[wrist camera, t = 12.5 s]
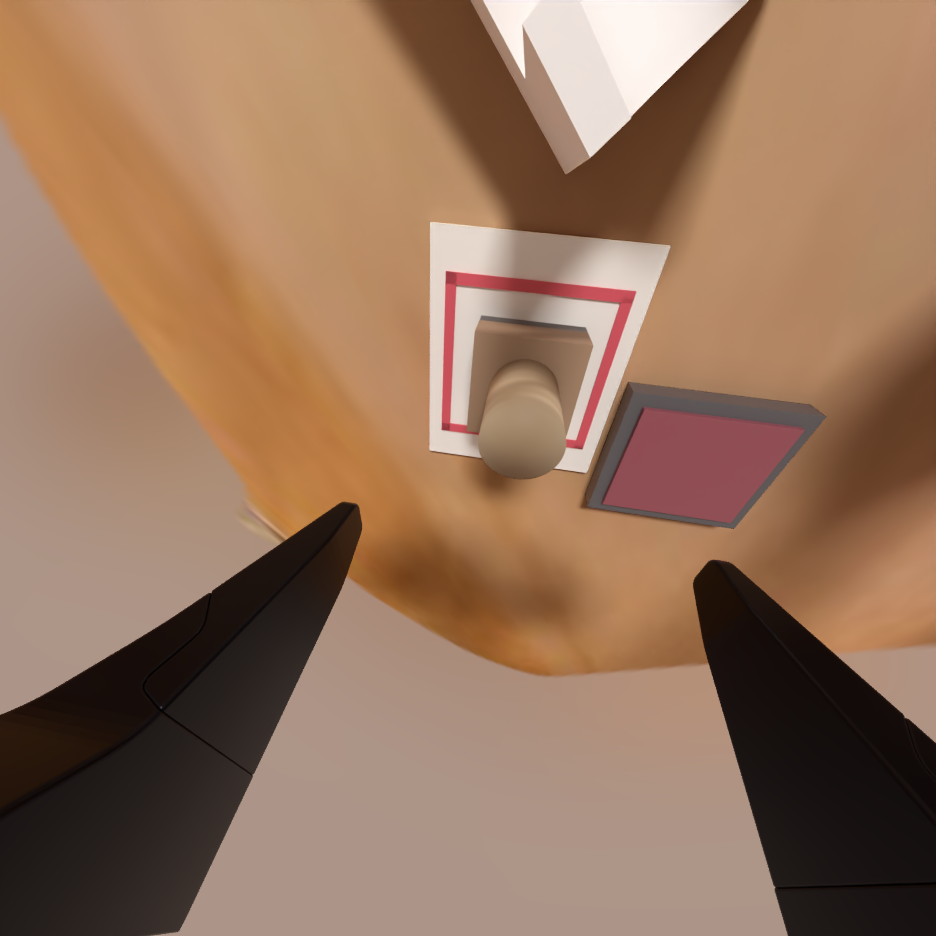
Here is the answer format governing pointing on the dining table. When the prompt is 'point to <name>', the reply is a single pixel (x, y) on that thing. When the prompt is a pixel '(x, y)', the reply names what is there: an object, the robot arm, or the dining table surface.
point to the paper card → (534, 316)
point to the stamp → (525, 392)
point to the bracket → (595, 59)
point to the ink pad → (696, 453)
